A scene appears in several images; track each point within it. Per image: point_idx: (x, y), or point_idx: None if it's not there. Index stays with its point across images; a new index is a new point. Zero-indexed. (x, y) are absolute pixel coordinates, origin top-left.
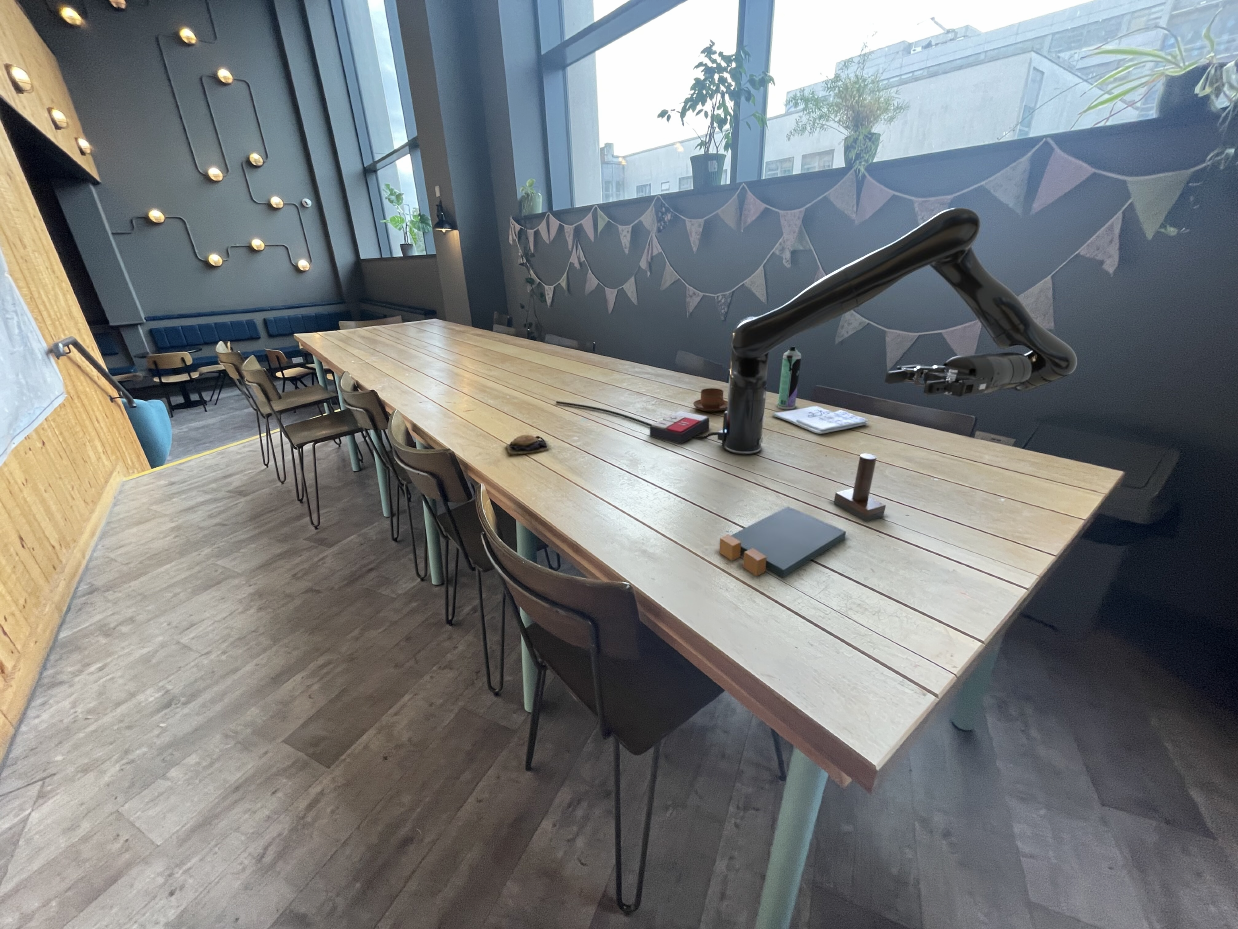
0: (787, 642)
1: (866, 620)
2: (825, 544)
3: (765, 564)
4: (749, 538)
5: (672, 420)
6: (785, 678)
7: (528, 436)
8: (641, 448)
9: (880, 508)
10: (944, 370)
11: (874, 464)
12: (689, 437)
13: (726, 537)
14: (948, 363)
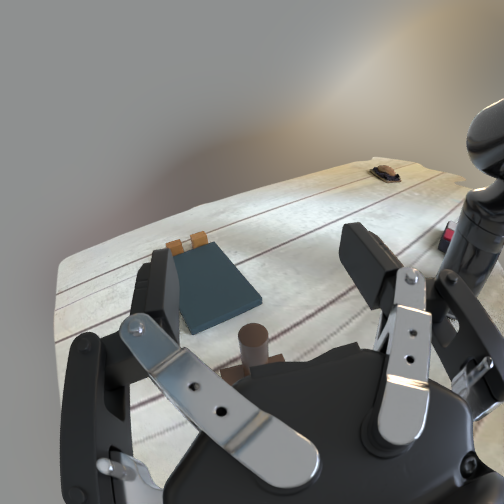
0: (113, 254)
1: (100, 294)
2: None
3: None
4: (207, 253)
5: None
6: (99, 248)
7: (387, 167)
8: (413, 223)
9: None
10: (386, 454)
11: (241, 348)
12: None
13: (202, 233)
14: (469, 486)
